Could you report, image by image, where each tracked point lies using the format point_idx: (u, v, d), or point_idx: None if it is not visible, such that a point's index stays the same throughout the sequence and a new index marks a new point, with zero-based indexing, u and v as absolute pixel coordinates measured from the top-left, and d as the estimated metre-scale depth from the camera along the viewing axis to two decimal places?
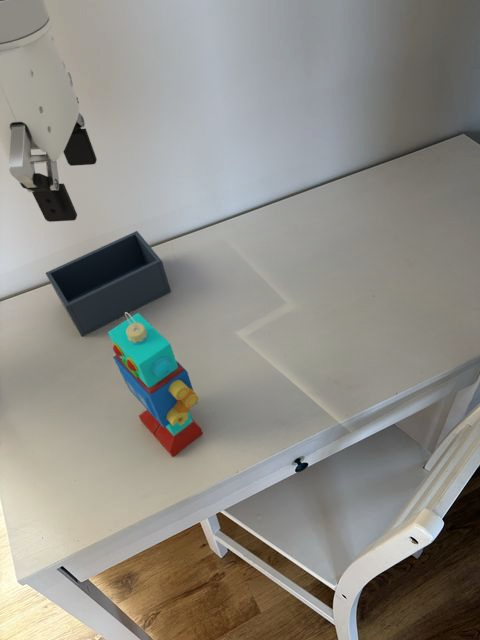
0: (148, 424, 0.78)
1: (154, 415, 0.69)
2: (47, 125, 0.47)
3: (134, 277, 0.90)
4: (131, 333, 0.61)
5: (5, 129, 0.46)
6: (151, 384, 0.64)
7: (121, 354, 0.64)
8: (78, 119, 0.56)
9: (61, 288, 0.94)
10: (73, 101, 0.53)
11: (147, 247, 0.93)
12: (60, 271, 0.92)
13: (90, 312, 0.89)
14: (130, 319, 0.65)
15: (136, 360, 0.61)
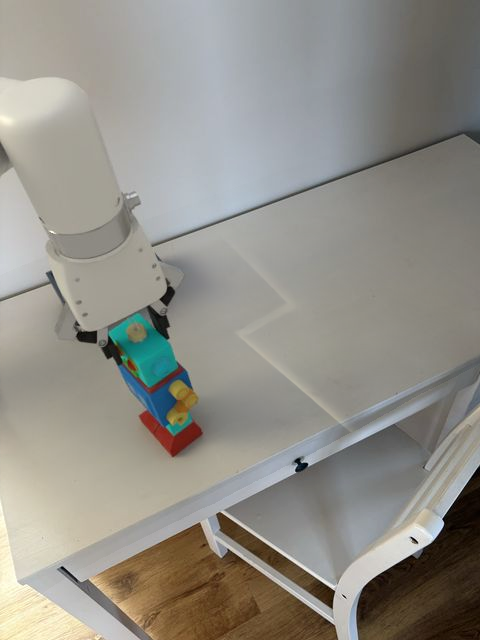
0: (148, 424, 0.78)
1: (154, 415, 0.69)
2: (83, 312, 0.53)
3: None
4: (131, 333, 0.61)
5: None
6: (151, 384, 0.64)
7: (121, 354, 0.64)
8: (157, 308, 0.60)
9: None
10: (152, 291, 0.56)
11: None
12: None
13: None
14: (130, 319, 0.65)
15: (136, 360, 0.61)
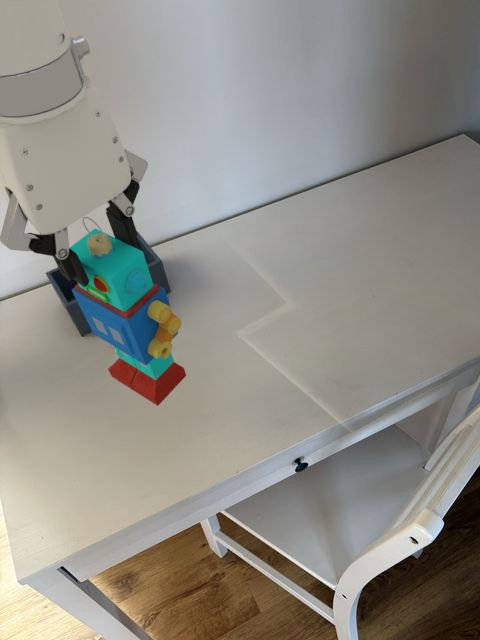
0: (122, 375, 0.67)
1: (132, 351, 0.59)
2: (37, 203, 0.42)
3: None
4: (94, 244, 0.51)
5: (3, 188, 0.43)
6: (127, 307, 0.54)
7: None
8: (122, 205, 0.50)
9: (61, 288, 0.94)
10: (116, 177, 0.47)
11: (147, 247, 0.93)
12: (60, 271, 0.92)
13: None
14: (87, 235, 0.54)
15: (106, 274, 0.50)
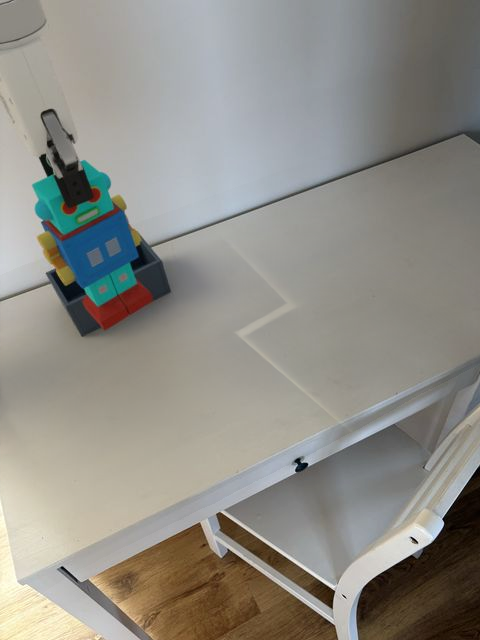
0: (114, 311, 0.74)
1: (127, 251, 0.69)
2: None
3: None
4: None
5: (36, 120, 0.50)
6: (112, 204, 0.65)
7: None
8: None
9: (61, 288, 0.94)
10: None
11: (147, 247, 0.93)
12: None
13: None
14: (38, 187, 0.60)
15: (96, 176, 0.61)
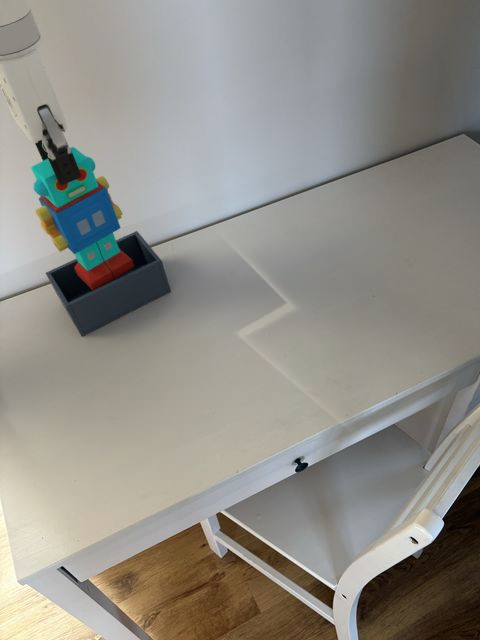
0: (101, 275, 0.88)
1: (110, 222, 0.84)
2: (58, 104, 0.66)
3: (134, 277, 0.90)
4: None
5: (34, 113, 0.64)
6: None
7: None
8: None
9: (61, 288, 0.94)
10: None
11: (147, 247, 0.93)
12: (60, 271, 0.92)
13: (90, 312, 0.89)
14: (36, 169, 0.75)
15: (82, 159, 0.75)
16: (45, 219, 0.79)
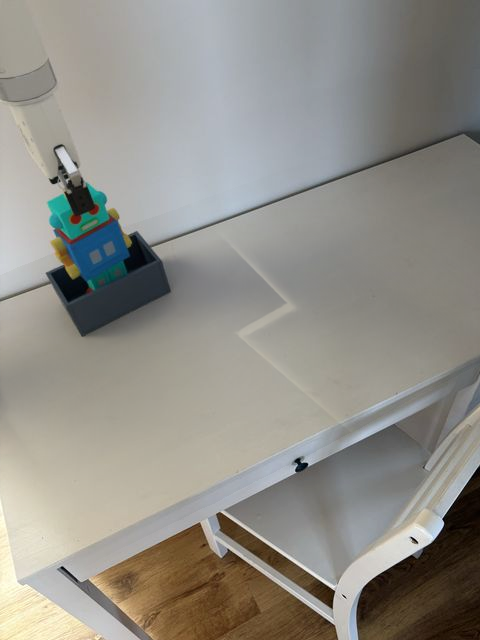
0: None
1: (121, 251, 0.88)
2: (73, 143, 0.70)
3: (134, 277, 0.90)
4: None
5: (50, 153, 0.68)
6: (108, 215, 0.84)
7: (80, 216, 0.80)
8: None
9: (61, 288, 0.94)
10: None
11: (147, 247, 0.93)
12: (60, 271, 0.92)
13: (90, 312, 0.89)
14: (52, 204, 0.79)
15: (95, 195, 0.80)
16: (59, 250, 0.83)
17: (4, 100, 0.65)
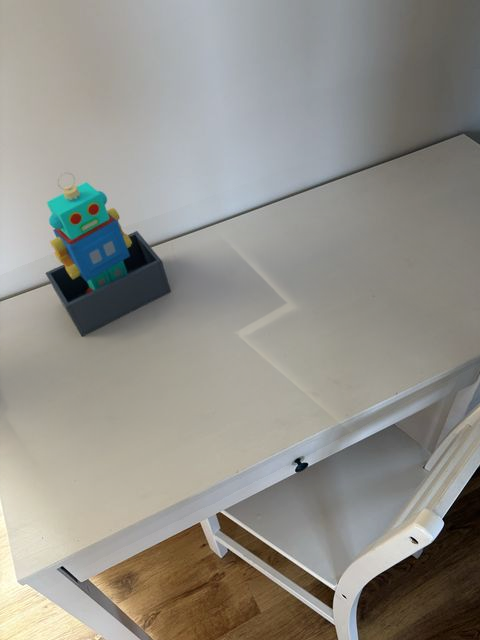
0: None
1: (121, 251, 0.88)
2: None
3: (134, 277, 0.90)
4: (73, 190, 0.79)
5: None
6: (108, 215, 0.84)
7: (80, 216, 0.80)
8: None
9: (61, 288, 0.94)
10: None
11: (147, 247, 0.93)
12: (60, 271, 0.92)
13: (90, 312, 0.89)
14: (52, 204, 0.79)
15: (95, 195, 0.80)
16: (59, 250, 0.83)
17: None
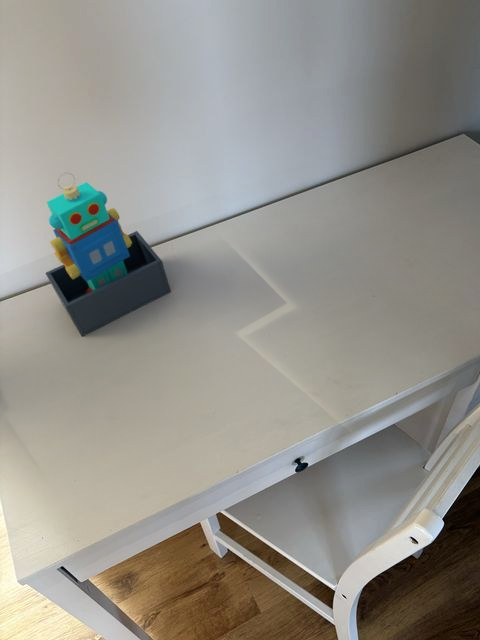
0: None
1: (121, 251, 0.88)
2: None
3: (134, 277, 0.90)
4: (73, 190, 0.79)
5: None
6: (108, 215, 0.84)
7: (80, 216, 0.80)
8: None
9: (61, 288, 0.94)
10: None
11: (147, 247, 0.93)
12: (60, 271, 0.92)
13: (90, 312, 0.89)
14: (52, 204, 0.79)
15: (95, 195, 0.80)
16: (59, 250, 0.83)
17: None
